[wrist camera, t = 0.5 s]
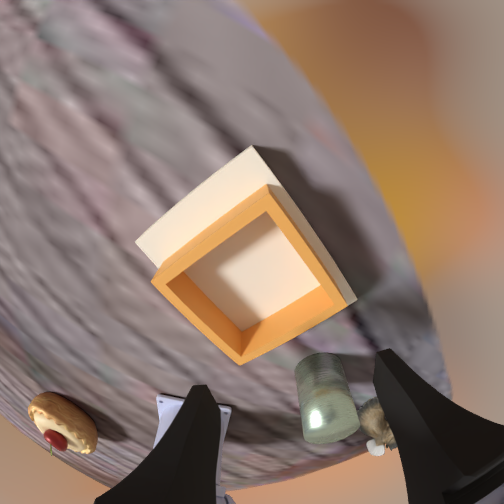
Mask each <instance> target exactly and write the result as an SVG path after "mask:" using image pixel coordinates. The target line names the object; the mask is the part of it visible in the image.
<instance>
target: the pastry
mask: <svg viewBox="0 0 504 504" xmlns="http://www.w3.org/2000/svg"><path fill="white" fill-rule="evenodd" d="M28 413H29V416H30V418H31V420H32V421H34V422H35V425H36V426H37V427H38V428H39V430H40V431H41V432H42V433H43V434H44V438H45V440H46V441H47V442H48V443H50V452H51V456H52V448H51V445H52V446H54V447H55V448H56V449H58V450H59V451H66V450H67V448H68V449H72V450H74V451H75V452H81V453H83V454H84V453H86V454H90V453H93V452H94V451H95V449H96V445H97V440H98V435H97V429H96V425H95V423H94V421H93V420H92V419H91V418H90V416H89V415H88V414H86V413H85V412H84V411H83V410H82V409H81V408H79V407H78V406H76V405H75V404H74V403H72V402H70V401H69V400H67V399H66V398H64V397H62V396H60V395H57V394H55V393H52V392H44V393H41V394H39V395H37V396H36V397H35V398H34V399H33V400H32V402H31V403H30V405H29V407H28Z"/></svg>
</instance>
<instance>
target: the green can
mask: <svg viewBox="0 0 504 504" xmlns="http://www.w3.org/2000/svg"><path fill="white" fill-rule="evenodd" d="M295 379H296V386H297V392H298V399H299V406H300V413H301V420H302V427H303V435H304V439H305V440H306V441H307V442H309V443H313V444H326V443H332V442H336V441H339V440H342V439H344V438H346V437H348V436H350V435H352V434H353V433H354V432H355V431H356V430H357V429H358V428H359V426H360V422H359V419H358V415H357V412H356V408H355V405H354V402H353V399H352V395H351V392H350V389H349V386H348V383H347V379H346V376H345V373H344V370H343V367H342V364H341V361H340V359H339V358H338V357H337V356H336V355H334V354H331V353H317V354H313V355H310V356H308V357H306V358H304V359H303V360H302V361H300V362H299V363H298V365H297V366H296V368H295Z"/></svg>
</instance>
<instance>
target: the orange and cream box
mask: <svg viewBox="0 0 504 504" xmlns="http://www.w3.org/2000/svg"><path fill="white" fill-rule="evenodd" d="M135 243H136V244H137V245H138V246H139V247H140V248H141V250H142V251H143V252H144V253H145V254H146V255H147V256H148V257H149V259H150V260H151V261H152V262H153V263H154V264H155V265H156V266H157V267H158V268H159V269H158V271H157V272H156V274H155V276H154V277H153V279H152V281H151V283H152V284H153V285H154V286H155V287H156V288H157V289H158V290H159V291H160V292H161V293H162V294H163V295H164V296H165V297H166V298H167V299H168V300H169V301H170V302H171V303H172V304H173V305H174V306H175V307H176V308H177V309H178V310H179V311H180V312H181V313H182V314H183V315H184V316H185V317H186V318H187V319H188V320H189V321H190V322H191V323H192V324H193V325H195V326H196V327H197V328H198V329H199V330H200V331H201V332H202V333H203V334H204V335H205V336H206V337H207V338H209V339H210V340H211V341H212V342H213V343H214V344H215V345H216V346H217V347H219V348H220V349H221V350H222V351H223V352H224V353H225V354H226V355H228V356H229V357H230V358H231V359H232V360H233V361H235V362H236V363H237V364H238V365H239V366H240V365H242V364H244V363H246V362H248V361H250V360H252V359H254V358H256V357H258V356H260V355H262V354H264V353H266V352H268V351H270V350H272V349H274V348H276V347H278V346H279V345H281V344H283V343H285V342H287V341H289V340H291V339H292V338H294V337H296V336H298V335H300V334H301V333H303V332H305V331H307V330H308V329H310V328H312V327H314V326H315V325H317V324H319V323H320V322H322V321H324V320H326V319H327V318H329V317H331V316H332V315H334V314H336V313H337V312H339V311H340V310H342V309H344V308H345V307H347V306H348V305H350V304H352V303H353V302H355V301H356V300H357V298H356V296H355V294H354V293H353V291H352V289H351V287H350V286H349V284H348V282H347V281H346V279H345V277H344V276H343V274H342V273H341V271H340V270H339V268H338V266H337V265H336V263H335V262H334V260H333V259H332V257H331V256H330V254H329V252H328V251H327V249H326V248H325V246H324V245H323V243H322V242H321V240H320V239H319V237H318V236H317V234H316V233H315V231H314V230H313V228H312V227H311V225H310V224H309V223H308V221H307V220H306V218H305V217H304V215H303V214H302V212H301V211H300V210H299V208H298V207H297V205H296V204H295V202H294V201H293V200H292V198H291V197H290V195H289V194H288V193H287V191H286V190H285V188H284V187H283V186H282V184H281V183H280V182H279V180H278V179H277V177H276V176H275V175H274V173H273V172H272V171H271V169H270V168H269V167H268V165H267V164H266V163H265V161H264V160H263V159H262V157H261V156H260V155H259V153H258V152H257V151H256V150H255V148H254V147H253V146H252V145H251V146H250V147H249V148H247V149H246V150H244V151H243V152H242V153H240V154H239V155H238V156H236V157H235V158H234V159H232V160H231V161H230V162H228V163H227V164H226V165H224V166H223V167H222V168H220V169H219V170H218V171H217V172H215V173H214V174H213V175H211V176H210V177H209V178H208V179H206V180H205V181H204V182H203V183H201V184H200V185H199V186H198V187H196V188H195V189H194V190H193V191H191V192H190V193H189V194H188V195H187V196H185V197H184V198H183V199H182V200H181V201H179V202H178V203H177V204H176V205H175V206H174V207H172V208H171V209H170V210H169V211H168V212H167V213H165V214H164V215H163V216H162V217H161V218H160V219H158V220H157V221H156V222H155V223H154V224H153V225H152V226H151V227H149V228H148V229H147V230H146V231H145V232H144V233H143V234H142V235H141V236H140V237H139V238H138V239H137V240H136V241H135Z"/></svg>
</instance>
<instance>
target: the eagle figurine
mask: <svg viewBox="0 0 504 504" xmlns="http://www.w3.org/2000/svg"><path fill="white" fill-rule="evenodd" d="M357 415H358V419H359V422H360V426H359V428H360V431H361V432H362V433H364V434H366V435H367V436H370V437H372V438H374V439H372V440H369V441H368V442H367V448H368V451H369V452H370V454H371V455H374V456H381V455H384V453H385V443H386V448H388V446H389V448H390V450H392V449H394V448H396V447H397V444H396V441H395V438H394V436H393V433H392V431H391V429H390V426H389V424H388V422H387V420H385V418H384V412H383V410H382V408H381V405H380V403H379V400H378V398H377V397H374V398H372V399H369V400H368V401H367V402H365V403H364V404H363V407H360V408H359V410H358V411H357Z"/></svg>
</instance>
